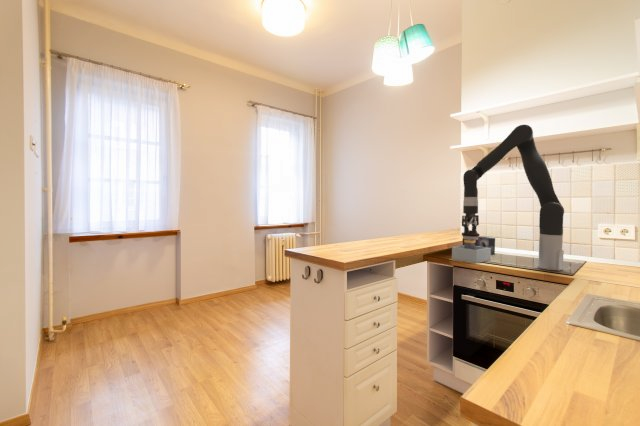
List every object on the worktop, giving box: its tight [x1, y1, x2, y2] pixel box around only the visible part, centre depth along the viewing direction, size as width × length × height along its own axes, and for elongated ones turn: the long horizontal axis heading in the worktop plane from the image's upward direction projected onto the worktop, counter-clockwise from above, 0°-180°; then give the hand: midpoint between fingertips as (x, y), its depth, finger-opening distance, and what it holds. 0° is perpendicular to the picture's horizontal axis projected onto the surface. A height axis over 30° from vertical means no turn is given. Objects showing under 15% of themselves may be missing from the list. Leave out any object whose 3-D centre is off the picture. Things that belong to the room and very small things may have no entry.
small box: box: [478, 235, 496, 256], centre depth 193 cm, size 11×6×10 cm, turn 25°
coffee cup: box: [461, 229, 480, 246], centre depth 188 cm, size 10×10×15 cm
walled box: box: [451, 244, 492, 264], centre depth 171 cm, size 14×16×7 cm
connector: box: [464, 240, 476, 250], centre depth 172 cm, size 4×4×10 cm
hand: (470, 233), depth 172 cm, fingers open, 8 cm apart
